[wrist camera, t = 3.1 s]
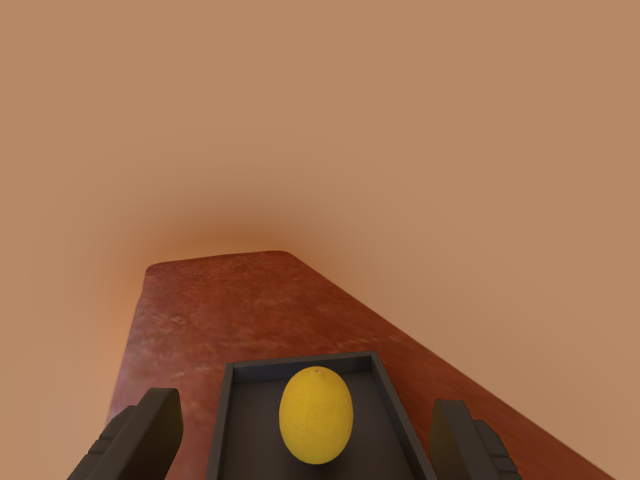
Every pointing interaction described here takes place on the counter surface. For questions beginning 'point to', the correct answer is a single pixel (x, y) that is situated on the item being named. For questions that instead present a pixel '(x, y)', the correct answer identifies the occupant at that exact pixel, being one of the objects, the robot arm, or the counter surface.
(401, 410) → the dark grey tray
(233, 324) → the counter surface
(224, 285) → the counter surface
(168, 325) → the counter surface
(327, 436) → the lemon
